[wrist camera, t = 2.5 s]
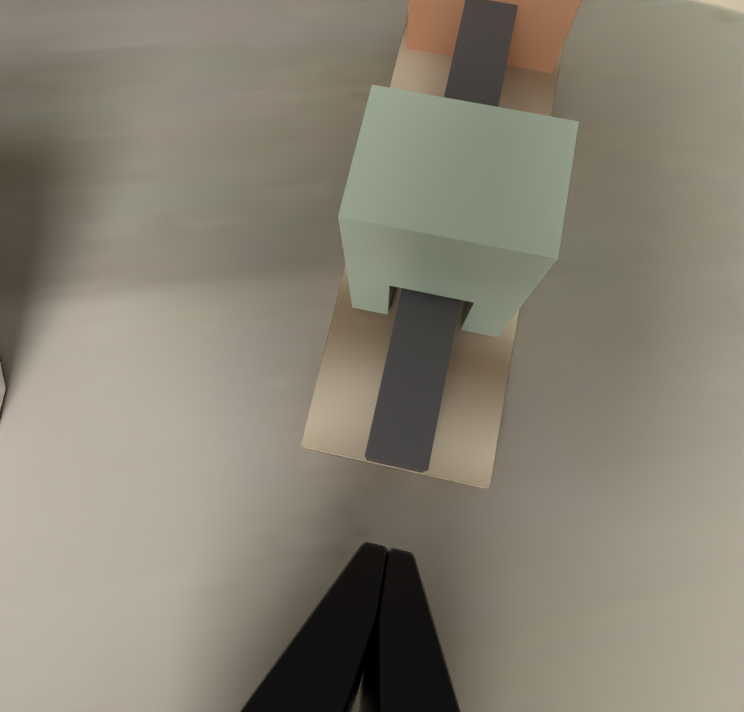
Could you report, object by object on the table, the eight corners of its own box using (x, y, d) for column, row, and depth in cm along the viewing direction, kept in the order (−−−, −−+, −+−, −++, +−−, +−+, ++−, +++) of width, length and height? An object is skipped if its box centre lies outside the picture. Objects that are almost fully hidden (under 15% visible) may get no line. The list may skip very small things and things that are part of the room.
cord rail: (421, 472, 20) (428, 470, 17) (367, 460, 20) (364, 456, 17) (507, 32, 24) (524, -30, 21) (462, 25, 24) (473, -39, 21)
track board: (482, 488, 21) (489, 488, 19) (305, 448, 21) (300, 445, 20) (557, 41, 26) (568, 14, 24) (412, 17, 26) (414, -11, 25)
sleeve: (497, 337, 20) (558, 258, 13) (352, 307, 21) (338, 216, 14) (513, 241, 21) (579, 121, 14) (374, 214, 22) (372, 84, 15)
